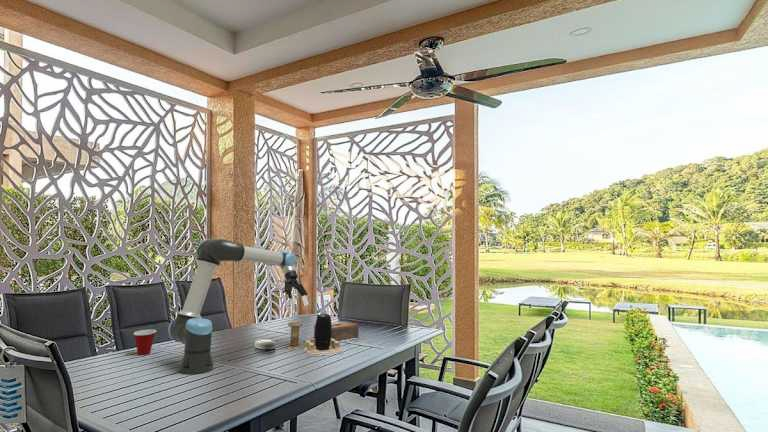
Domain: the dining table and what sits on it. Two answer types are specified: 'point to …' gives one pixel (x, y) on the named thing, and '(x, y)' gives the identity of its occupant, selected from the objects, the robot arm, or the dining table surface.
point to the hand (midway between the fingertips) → (300, 304)
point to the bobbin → (294, 335)
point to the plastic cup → (144, 341)
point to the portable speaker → (323, 331)
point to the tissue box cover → (343, 330)
